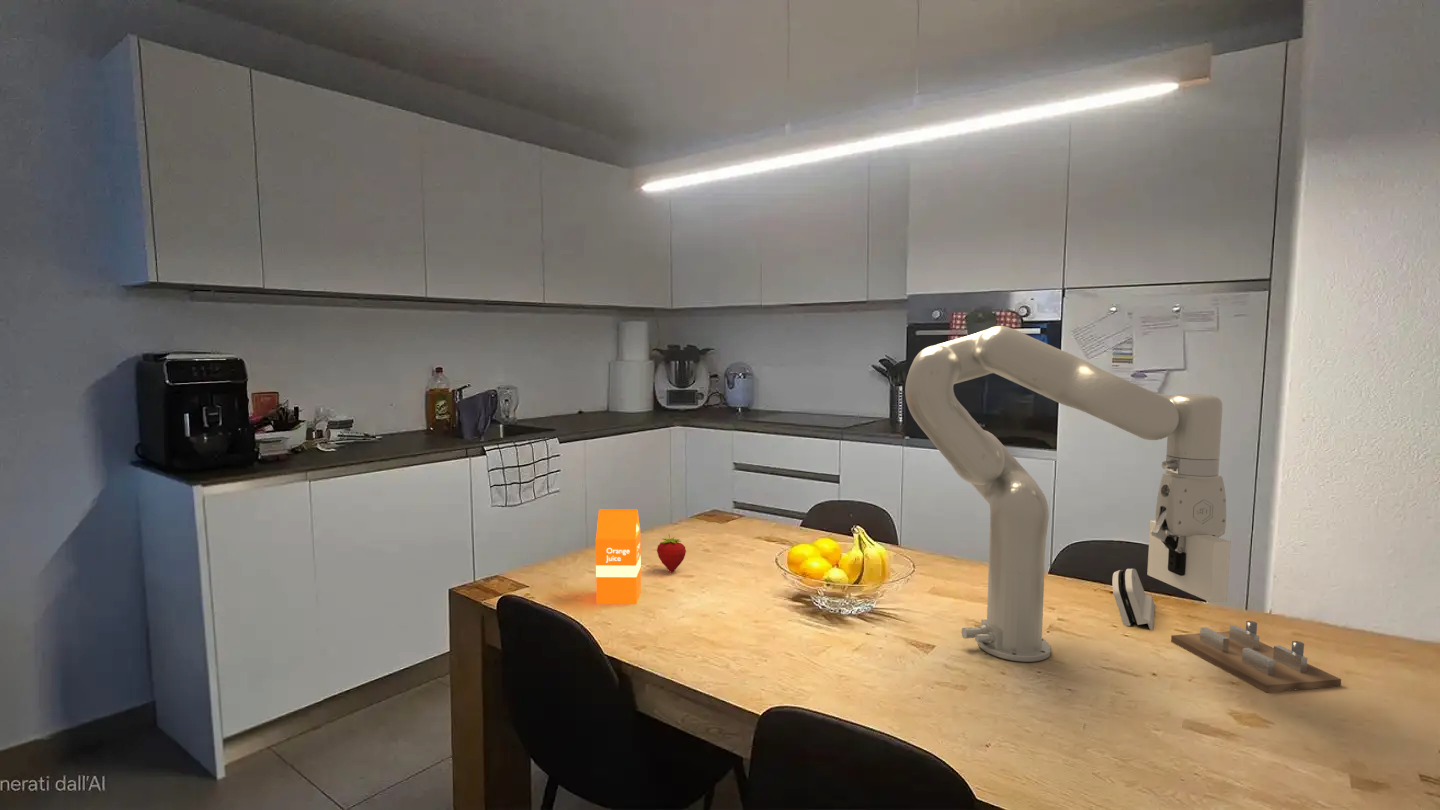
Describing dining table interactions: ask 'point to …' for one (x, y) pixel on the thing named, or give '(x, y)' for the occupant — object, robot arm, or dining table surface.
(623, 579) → the orange juice
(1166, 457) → the robot arm
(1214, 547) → the door panel
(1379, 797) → the dining table surface
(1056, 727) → the dining table surface
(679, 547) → the strawberry
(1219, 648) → the wooden assembly fixture
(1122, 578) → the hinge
